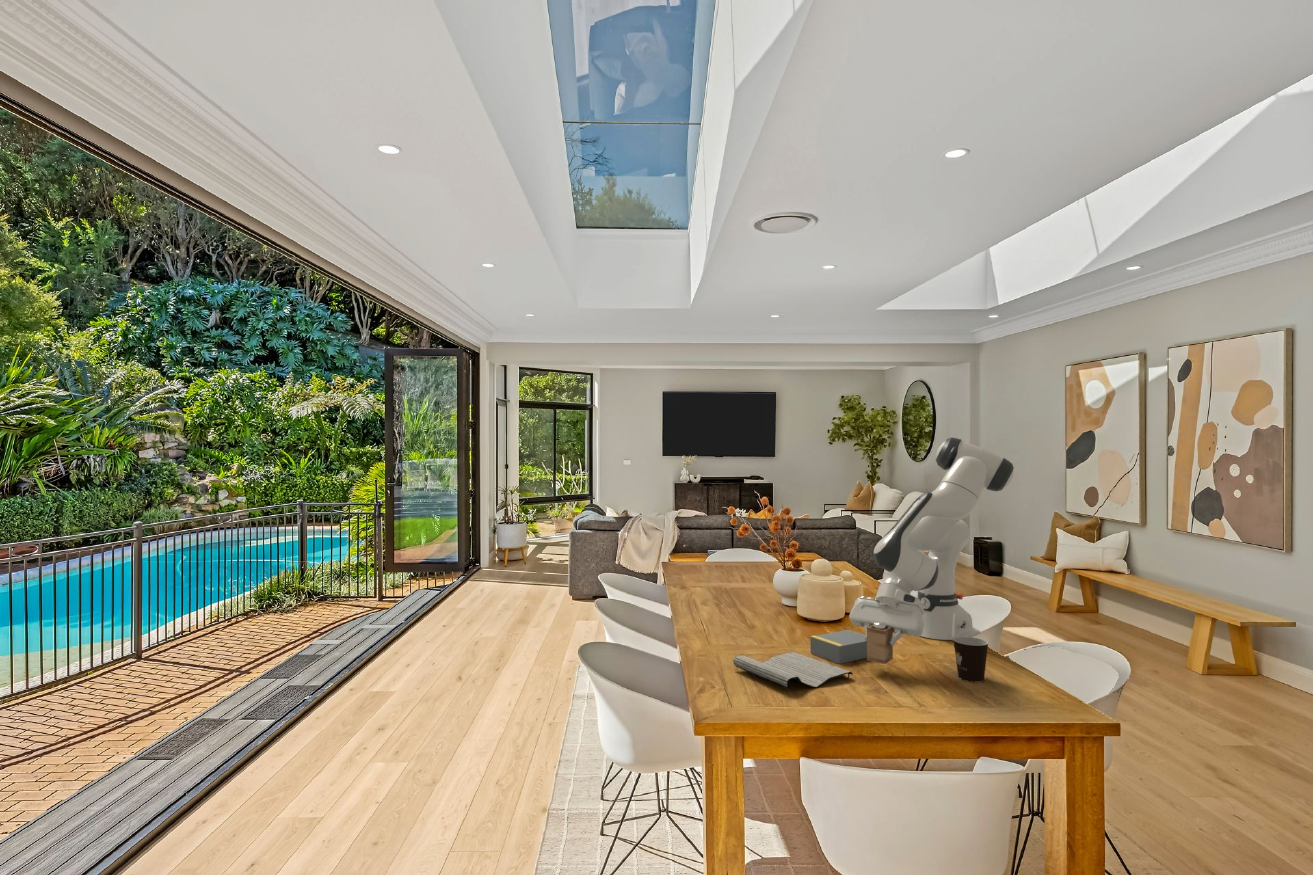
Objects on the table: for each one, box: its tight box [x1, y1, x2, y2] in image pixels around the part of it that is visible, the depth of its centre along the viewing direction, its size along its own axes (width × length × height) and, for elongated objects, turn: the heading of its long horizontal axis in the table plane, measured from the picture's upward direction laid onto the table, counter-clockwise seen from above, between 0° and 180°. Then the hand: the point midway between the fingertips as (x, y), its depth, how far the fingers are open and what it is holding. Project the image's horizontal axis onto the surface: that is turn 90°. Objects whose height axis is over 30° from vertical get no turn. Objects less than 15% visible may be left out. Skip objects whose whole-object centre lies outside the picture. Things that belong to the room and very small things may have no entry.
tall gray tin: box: [866, 624, 894, 665], centre depth 188 cm, size 6×5×9 cm
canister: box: [874, 622, 886, 630], centre depth 188 cm, size 3×3×2 cm
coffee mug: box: [952, 636, 989, 683], centre depth 185 cm, size 12×9×10 cm
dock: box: [810, 629, 867, 665], centre depth 205 cm, size 16×12×5 cm
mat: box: [732, 651, 854, 693], centre depth 187 cm, size 23×24×5 cm
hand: (879, 642), depth 188 cm, fingers closed on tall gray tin, 5 cm apart
